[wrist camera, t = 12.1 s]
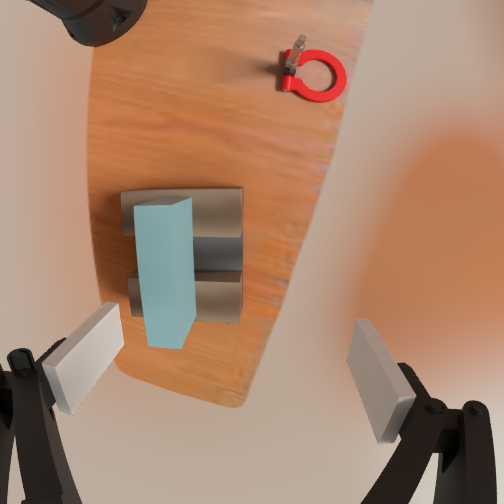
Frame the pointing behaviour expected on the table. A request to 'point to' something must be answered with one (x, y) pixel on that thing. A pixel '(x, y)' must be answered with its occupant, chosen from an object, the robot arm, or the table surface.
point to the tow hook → (299, 58)
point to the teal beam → (166, 269)
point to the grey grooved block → (202, 248)
